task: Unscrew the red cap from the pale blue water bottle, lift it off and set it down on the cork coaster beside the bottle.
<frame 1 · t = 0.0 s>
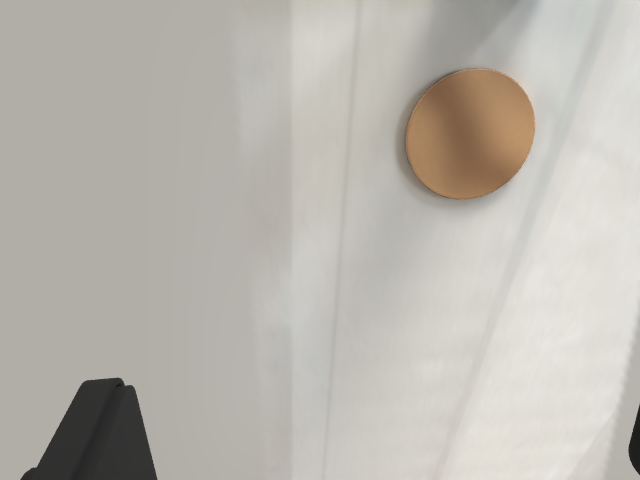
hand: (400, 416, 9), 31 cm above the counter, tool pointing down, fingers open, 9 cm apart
coaster: (468, 135, 39), on the counter
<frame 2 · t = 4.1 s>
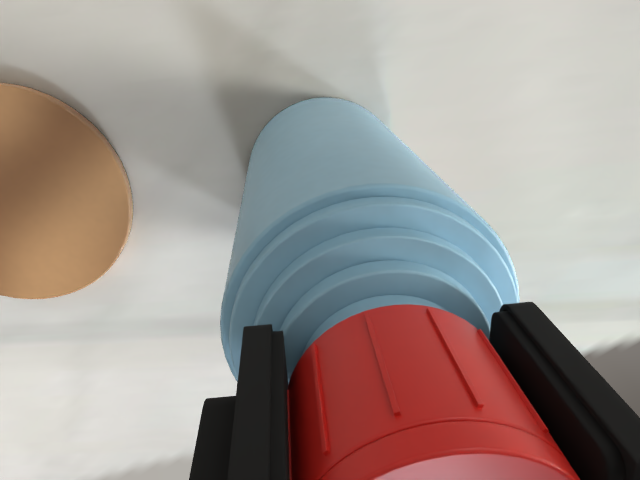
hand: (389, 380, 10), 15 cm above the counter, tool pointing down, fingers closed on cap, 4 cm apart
coaster: (19, 196, 23), on the counter
bottle: (324, 174, 24), on the counter
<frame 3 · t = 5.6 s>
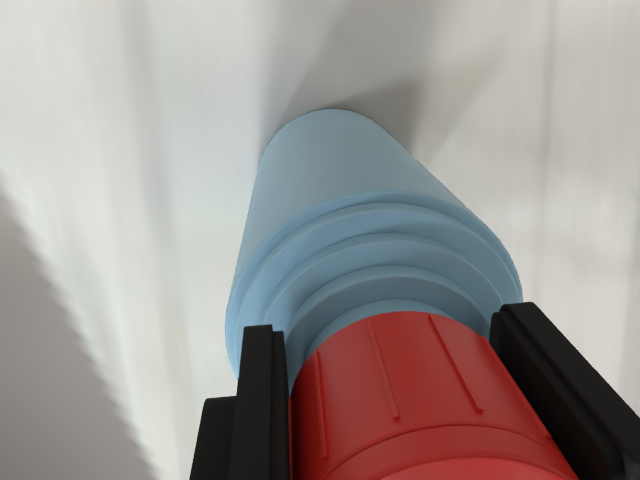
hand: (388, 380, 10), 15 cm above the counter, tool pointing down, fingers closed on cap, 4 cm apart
bottle: (331, 184, 24), on the counter
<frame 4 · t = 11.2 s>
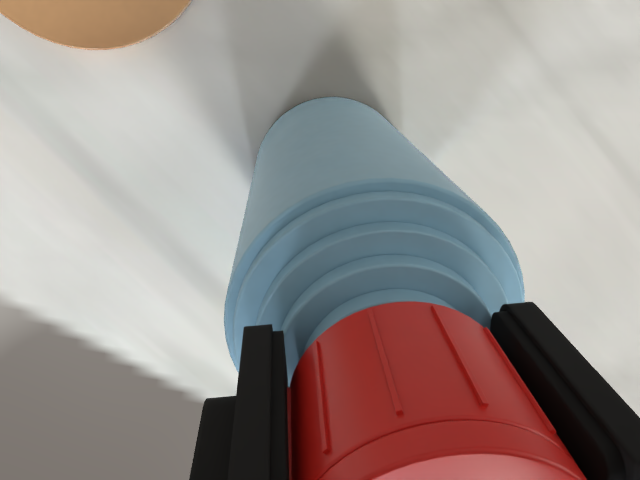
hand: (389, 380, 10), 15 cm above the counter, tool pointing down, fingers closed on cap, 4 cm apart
bottle: (331, 173, 24), on the counter
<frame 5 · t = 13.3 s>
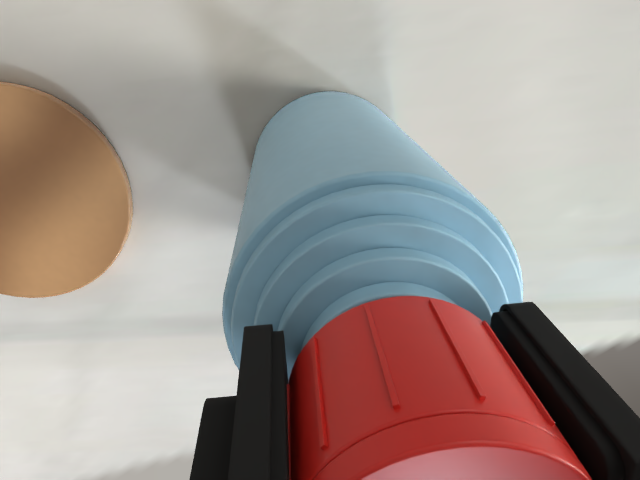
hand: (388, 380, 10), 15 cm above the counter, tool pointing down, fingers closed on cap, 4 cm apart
coaster: (19, 195, 23), on the counter
bottle: (329, 168, 24), on the counter
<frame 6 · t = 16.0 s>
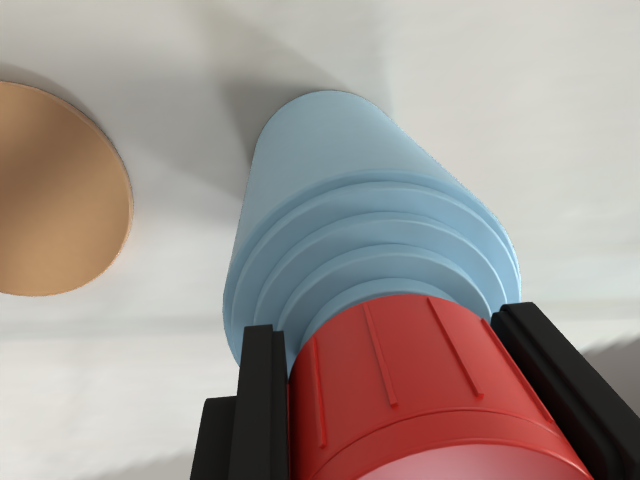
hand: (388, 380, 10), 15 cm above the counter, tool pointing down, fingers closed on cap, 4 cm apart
coaster: (20, 194, 23), on the counter
bottle: (328, 167, 24), on the counter
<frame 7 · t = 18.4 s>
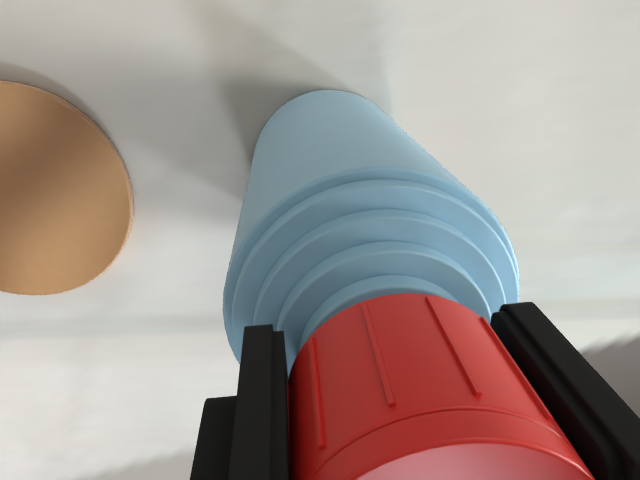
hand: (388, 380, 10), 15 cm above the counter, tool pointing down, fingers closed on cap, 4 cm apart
coaster: (21, 193, 23), on the counter
bottle: (328, 166, 24), on the counter
when the fingers open (2 cm above the counter, at t = 27.9 s): cap drops 2 cm, resting on coaster.
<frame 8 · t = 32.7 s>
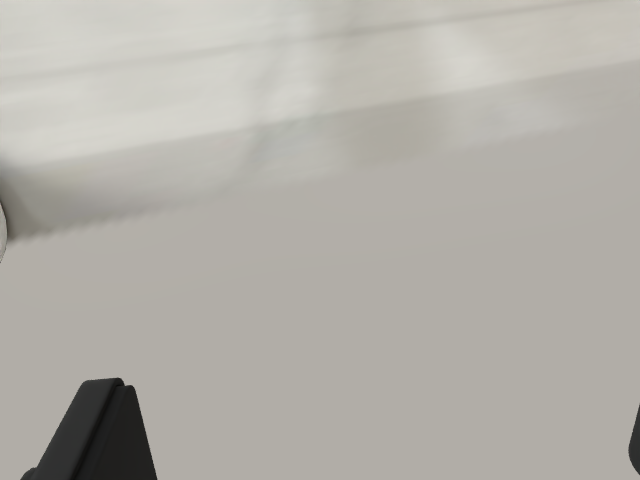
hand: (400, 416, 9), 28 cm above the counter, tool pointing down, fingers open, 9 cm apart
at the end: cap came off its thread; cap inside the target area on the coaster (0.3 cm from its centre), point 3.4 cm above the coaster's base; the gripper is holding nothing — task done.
